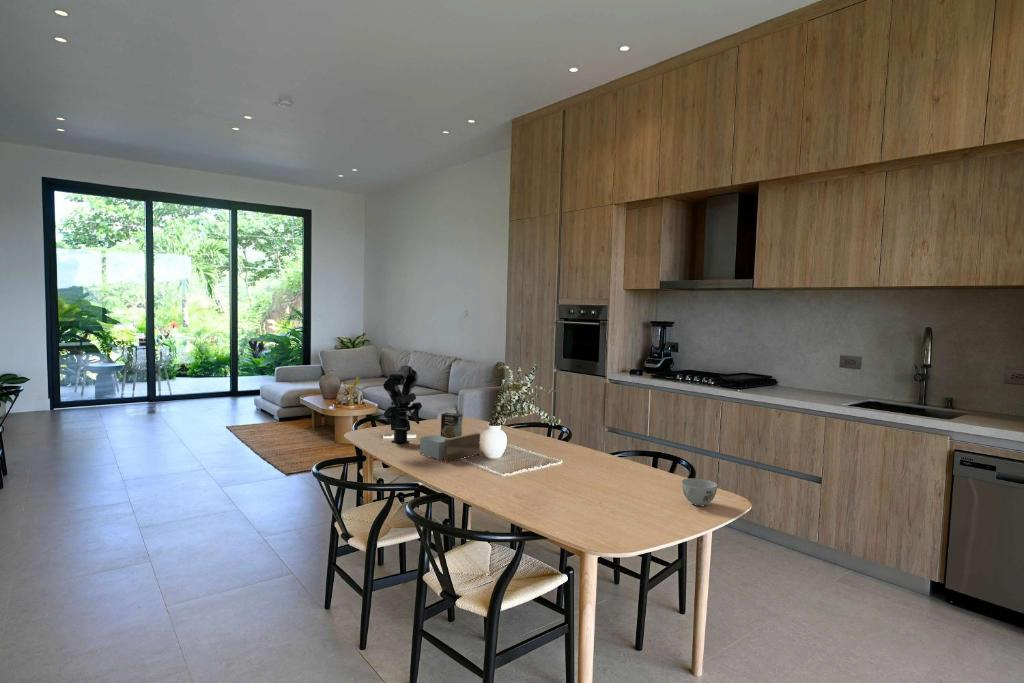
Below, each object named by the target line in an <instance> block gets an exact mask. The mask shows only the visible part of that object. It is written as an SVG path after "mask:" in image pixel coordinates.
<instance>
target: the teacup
mask: <svg viewBox="0 0 1024 683" xmlns="http://www.w3.org/2000/svg"><path fill="white" fill-rule="evenodd" d="M681 489H682V492H683V494H684V496H685V498H686V499H687V501H688V502H689V503H690V502H691V503H692V504H696V505H706V506H708V504H710V503H711V502H713V500H714V498H715V497H716V494H717V491H718V483H716V482H714V481H712V480H709V479H704V478H703V479H702V478H691V477H690V478H684V479H682V480H681ZM691 503H690V504H691ZM692 504H691V505H692Z"/></svg>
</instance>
